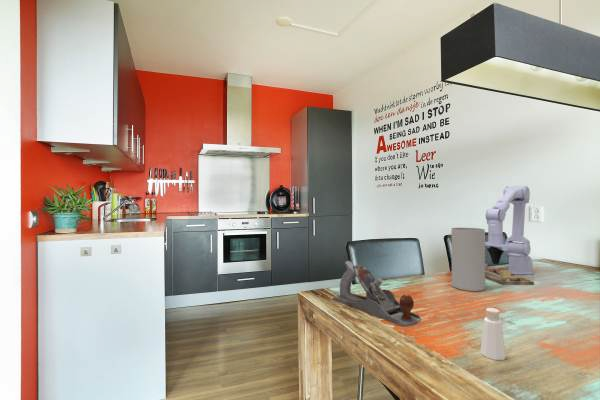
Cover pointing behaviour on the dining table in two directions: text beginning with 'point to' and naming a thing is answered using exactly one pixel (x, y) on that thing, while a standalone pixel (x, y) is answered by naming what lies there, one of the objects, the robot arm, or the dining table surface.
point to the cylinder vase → (468, 259)
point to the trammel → (494, 273)
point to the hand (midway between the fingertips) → (495, 263)
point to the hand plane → (375, 298)
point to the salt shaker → (493, 336)
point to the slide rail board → (511, 280)
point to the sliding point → (508, 274)
